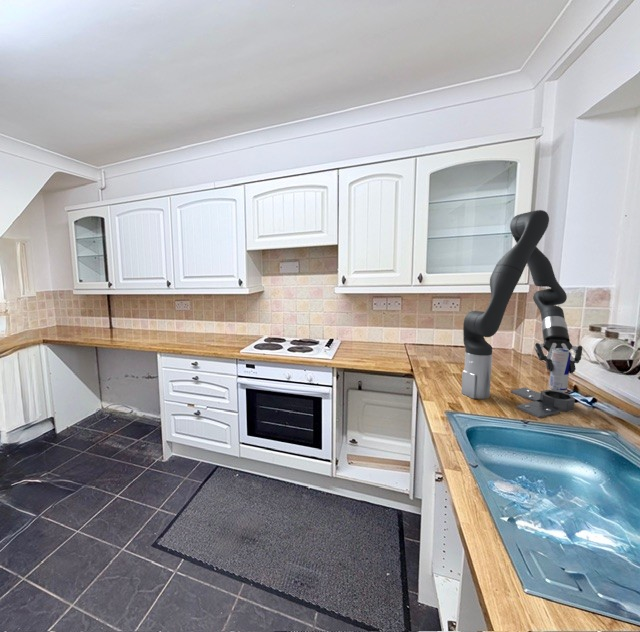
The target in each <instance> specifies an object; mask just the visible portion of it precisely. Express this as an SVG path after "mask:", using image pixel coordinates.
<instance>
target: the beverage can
mask: <svg viewBox="0 0 640 632" xmlns="http://www.w3.org/2000/svg"><path fill="white" fill-rule="evenodd" d="M552 350H553V351H552V357H551V360H552V365H553V370H552V371H549V384H548V387H549V389H550V390H553V391H556V392H564V393H566V392H567V391H568V387H569V386H568V385H569V375H570V373H569V367H570V357H571V355H572V351H571V350H567V349H561V348H554V349H552ZM570 352H571V353H570Z"/></svg>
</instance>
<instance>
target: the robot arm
mask: <svg viewBox="0 0 640 632" xmlns="http://www.w3.org/2000/svg"><path fill="white" fill-rule="evenodd" d="M549 224H550V217H549V214H548V212H547V211H545V210H543V209H537V210H532V211H527V212H525V213H524V212H523V213H520V214H516V215H515V216H514V217H513V218H512V219H511V221H510V224H509V228H510V230H509V231H510V232H511V235H512V237H513V239H514V241H515V245H513V247H512V248H511V249H510V250H508V251H507V252H506V253H505V254H504V255H503V256H502V257H501V258H500V259H499V260H498V261H497V263H496V265H495V267H494V268H493V271H492V273H491V275H490V277H489V287H490V288H489V289H490V300H489V303H488V306H487V308H486V309H485V311H480V310H471V311H469V312H468V313H467V314H466V315H465V317H464V319H463V325H462V326H463V329H462V330H463V331H462V332H463V345H464V348H465V351H464V352H465V353H464V369H463V370H462V372H461V374H462V375H461V376H462V377H461V394H463V395H464V396H466V397H469V398H470V399H473V400H476V399H478V400H486V399H488V398H490V397H491V396H490V395H491V379H492V377H491V376H492V363H493V347H492V345H491V344H490V343H488V341H486V339H485V338H491V337H493V336H494V335H495V334H496V333H497V332H498V330H499V328H500V325H501V323H502V321H503V318H504V315H505V313H506V310H507V306H508V304H509V302H510V300H511V298H512V295H513V293H514V291H515V289H516V287H517V285H518V284H519V281H520V279H521V277H522V275H523V274H524V273H523V272H524V270H525V268H526V266H527V265H528V268H529V271H530V275H531V278H532V282H533V284H534V286H536V287H547V288H546V289H541V290H537V291H536V292H534V293H533V295H532V297H533V298H532V299H533V302H534V304H535V305H536V307H537V308H538V310H539V313H540V318H541V332H542V337H543V338H542V340H543V343H538V342H536V343H535V345H534V348H533V349H534V351H535V353H536V355H537V358H538V360H539V361H544V362H545V366H546V370H547V371H549V372H550V371H552V370H553V365H552V360H551V358H552V351H553V350H552V349H554V348H561V349H567V350H570V351H571V350H572V351H573V353H574V354H575V355H574V356H573V355H572V351H571V352H570V353H571V357H570V367H569V374H573V373H574V372H575V371H576V364H579V363H580V361H581V359H582V355H583V346H582V345H578V346H576V345H573V344H572V343H571V342H570V341H571V340H570V335H569V330H568V325H567V322H566V319H565V313H564V309H563V308H562V307H561V306H559V305H562V304H565V303H566V302H567V299H568V298H567V297H568V296H567V293H566V291H565V290H564V288H563V287H562V286H561V284H560V283H559V282H558V281H557V278H556V274H555V273H554V269H553V266H552V263H551V261H550V260H549V258H548V257H547V256H546V255H545V254H544V252H542V251H541V250H540V249H539V248H538V244H539V243H540V241H541V240H542V238H543V236H544V235H545V233H546V231H547V229H548V227H549ZM543 349H545V350H546V352H548V353H547V355H545V354H544V351H543Z"/></svg>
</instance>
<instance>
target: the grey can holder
mask: <svg viewBox="0 0 640 632" xmlns="http://www.w3.org/2000/svg"><path fill="white" fill-rule="evenodd" d="M510 393H511V394H513V395H517V396H518V397H521V398H524V399H526V400H529V401H531V402H527V403H523V404H517V405H516V406H515V408H516V409H518V410H520V411H523V412H525V413H527V414H530V415H532V416H534V417H536V418H538V419H540V418H545V417H549V416H553V415H556V414H557V415H558V414H560V413H561V412H565V413H568V412H572V411H575V405H576V403H575V402H576V398H575V397H574V396H573V395H572V394H570V393H566V392H556V391H553V390H551V389H545V390H541V391H540V392H538V391H535V390H533V389H530V388H527V387H521V388H516V389H511V390H510Z"/></svg>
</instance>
